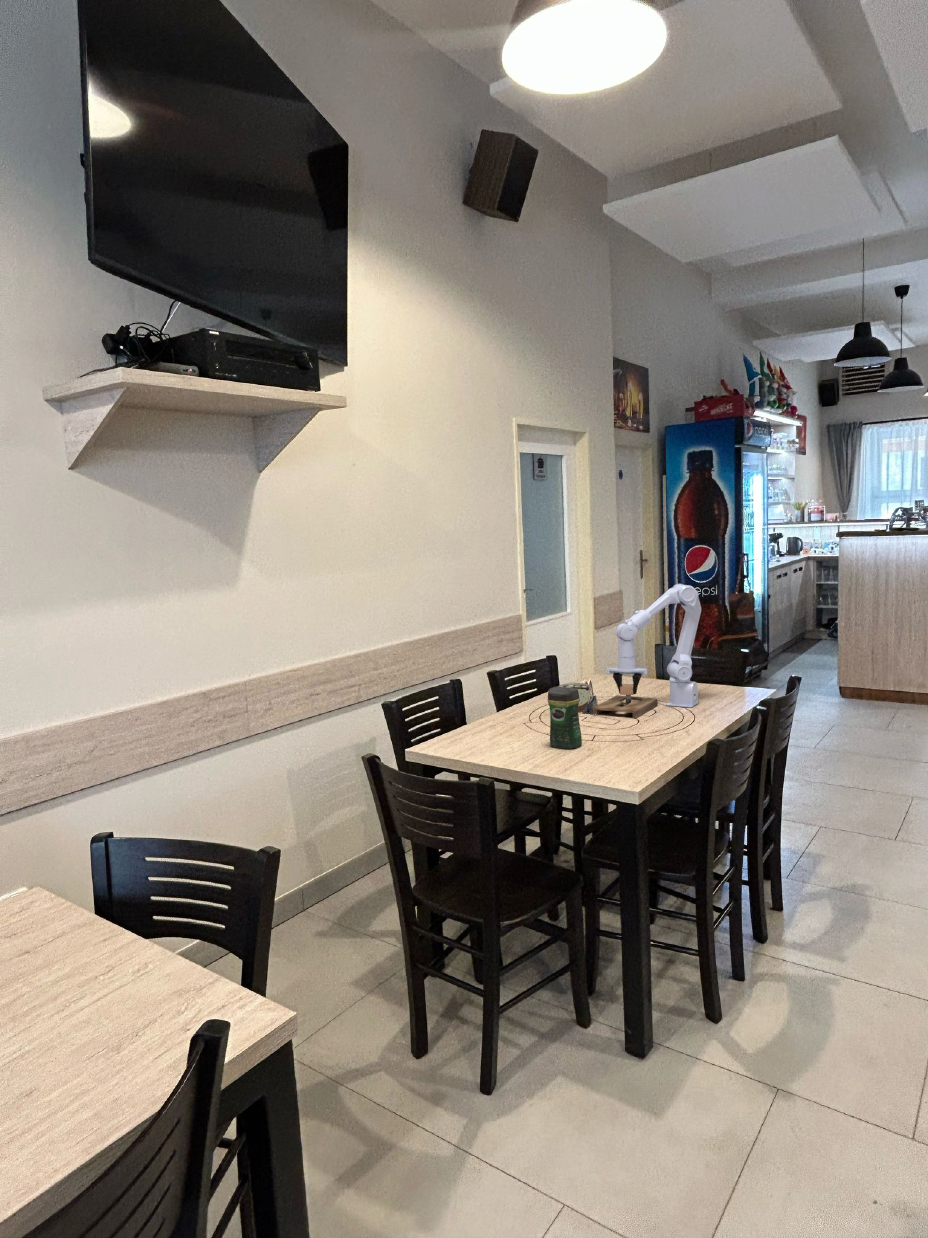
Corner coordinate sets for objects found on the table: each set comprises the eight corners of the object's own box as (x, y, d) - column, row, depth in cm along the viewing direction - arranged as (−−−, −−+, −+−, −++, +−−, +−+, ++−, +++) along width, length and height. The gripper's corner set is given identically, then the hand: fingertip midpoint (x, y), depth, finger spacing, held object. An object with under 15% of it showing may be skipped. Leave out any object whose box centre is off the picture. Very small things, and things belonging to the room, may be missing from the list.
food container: (591, 708, 294) (590, 681, 293) (592, 712, 288) (591, 685, 287) (557, 709, 295) (556, 683, 294) (558, 713, 289) (556, 686, 288)
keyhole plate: (657, 705, 291) (657, 698, 291) (636, 718, 275) (635, 710, 274) (617, 702, 301) (616, 695, 300) (593, 714, 284) (593, 707, 284)
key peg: (636, 706, 291) (635, 684, 290) (633, 710, 287) (632, 687, 286) (623, 706, 293) (622, 683, 292) (620, 709, 289) (619, 686, 288)
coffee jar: (586, 744, 247) (583, 685, 245) (572, 751, 241) (570, 691, 239) (559, 740, 253) (556, 683, 251) (546, 747, 247) (542, 688, 245)
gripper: (649, 655, 288) (650, 691, 289) (609, 654, 294) (611, 690, 296) (644, 658, 281) (646, 695, 283) (604, 657, 288) (606, 694, 289)
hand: (627, 693), depth 289 cm, fingers closed on key peg, 5 cm apart
